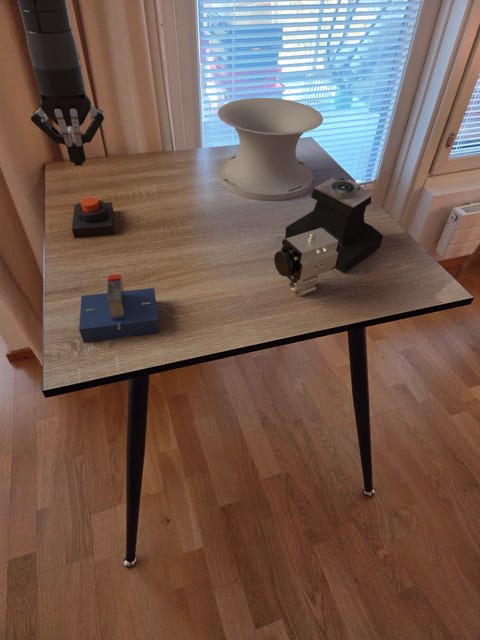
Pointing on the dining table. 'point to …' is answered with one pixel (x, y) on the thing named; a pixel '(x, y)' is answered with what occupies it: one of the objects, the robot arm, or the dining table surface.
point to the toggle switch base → (136, 321)
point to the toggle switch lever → (116, 297)
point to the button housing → (93, 221)
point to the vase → (267, 148)
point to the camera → (341, 220)
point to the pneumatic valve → (308, 258)
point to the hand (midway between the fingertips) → (79, 163)
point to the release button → (90, 204)
